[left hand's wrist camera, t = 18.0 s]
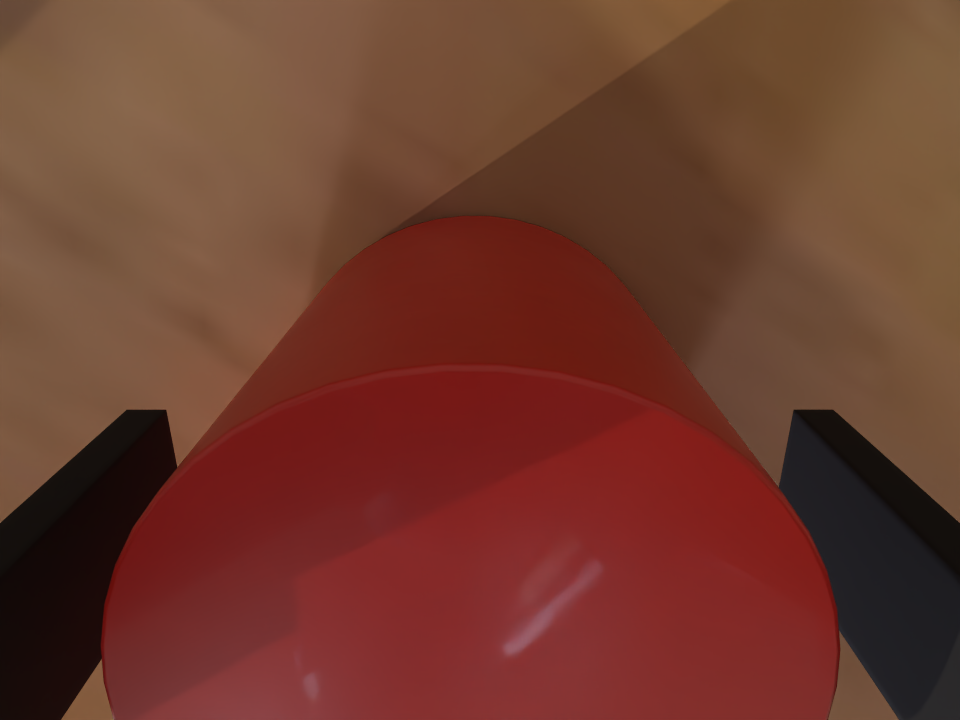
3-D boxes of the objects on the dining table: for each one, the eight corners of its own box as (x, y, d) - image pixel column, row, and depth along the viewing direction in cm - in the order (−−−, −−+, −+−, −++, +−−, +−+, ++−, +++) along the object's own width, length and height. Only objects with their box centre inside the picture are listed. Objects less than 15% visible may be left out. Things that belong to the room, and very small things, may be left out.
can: (731, 322, 16) (1008, 571, 7) (547, 596, 19) (600, 990, 10) (380, 142, 14) (246, 205, 6) (240, 470, 17) (21, 814, 9)
